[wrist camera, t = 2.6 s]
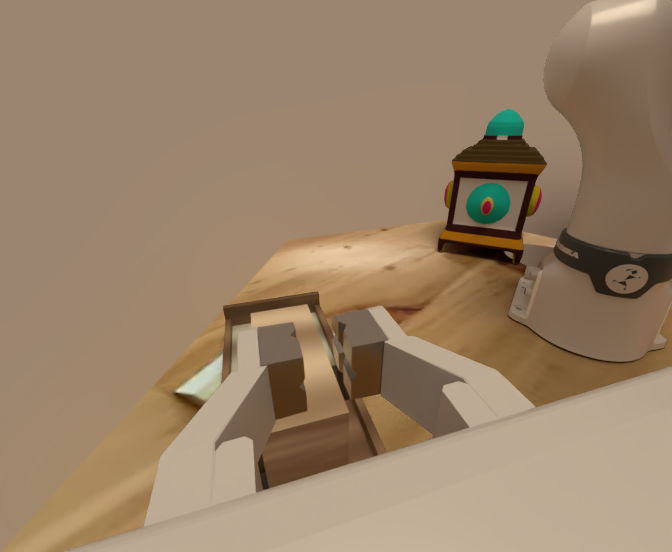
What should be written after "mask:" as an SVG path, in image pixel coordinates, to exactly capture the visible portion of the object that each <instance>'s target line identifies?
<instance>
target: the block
mask: <svg viewBox="0 0 672 552" xmlns="http://www.w3.org/2000/svg"><path fill="white" fill-rule="evenodd" d="M289 322H293V323H294V326H295V329H296V339H298V340H299V343H300V347H301V351H302V355H303V360H304V371H305V380H304V385H305V389H306V396H307V410H308V411H306V412H302V413H299V414H295V415H292V416H288V417H285V418H281V419H277V420H276V423H275V425H274V427H273V429H272V432H271V434H270V436H269V438H268V441H267V443H266V445H265V447H264V450H263V452H262V456H263V461H264V466H265V471H266V476H267V481H268V486H269V488H272V487H276V486H279V485H282V484H286V483H289V482H292V481H295V480H299V479H302V478H305V477H309V476H312V475H315V474H318V473H322V472H325V471H328V470H332V469H335V468H338V467H341V466H345V465H348V464H349V411H348V408H347V406H346V403H345V400H344V398H343V395H342V393H341V390H340V387H339V385H338V382H337V380H336V377H335V375H334V372H333V369H332V367H331V364H330V362H329V359H328V356H327V354H326V351H325V349H324V346H323V344H322V341H321V338H320V336H319V333H318V331H317V328H316V325H315V323H314V320H313V318H312V315H311V313H310V310H309V307H308V305H307V304H305V305H299V306H293V307H286V308H280V309H274V310H268V311H262V312H256V313H251V327H252V328H257V327H263V326H269V325H276V324H282V323H289ZM257 330H258V328H257Z"/></svg>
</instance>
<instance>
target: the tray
mask: <svg viewBox="0 0 672 552" xmlns="http://www.w3.org/2000/svg"><path fill="white" fill-rule="evenodd" d="M305 304H307V305H308V307H309V310H310V313H311V315H312V318H313V320H314V323H315V325H316V328H317V331H318V333H319V336H320V338H321V341H322V344H323V346H324V349H325V351H326V354H327V356H328V359H329V362H330V364H331V367H332V369H333V372H334V375H335V377H336V380H337V382H338V385H339V387H340V390H341V393H342V395H343V398H344V400H345V403H346V406H347V408H348V411H349V464H351V463H355V462H358V461H361V460H364V459H368V458H371V457H374V456H378V455H381V454H384V453H387V452H386V450H385V448H384V446H383V443H382V441H381V439H380V437H379V435H378V432H377V430H376V428H375V426H374V424H373V421H372V419H371V417H370V415H369V413H368V410H367V408H366V406H365V404H364V402H363V399H362V398H359V399H354V400H351V398H350V396H349V394H348V391H347V389H346V387H345V384H344V378H343V373H342V372H340V371H339V370H338V367H337V365H336V361H335V358H334V352H333V340H332V339H333V338H334V336H333V333H332V331H331V329H330V327H329V325H328V322H327V320H326V318H325V316H324V314H323V311H322V309H321V307H320V305H319V293H318V292H311V293H305V294H298V295H292V296H285V297H279V298H272V299H266V300H259V301H253V302H246V303H239V304H233V305H226V306H223V310H224V315H225V319H226V322H225V337H224V352H223V367H222V382H221V384H222V383H223V382H224V380H225V379H226V378H227V377H228V376H229V374H230V373H233V372H237V333H238V331H239V330H244V329H250V328H252V327H251V313H256V312H262V311H268V310H274V309H280V308H286V307H293V306H299V305H305ZM258 467H259V472H260V477H261V482H262V487H263V490H266V489H269V486H268V481H267V476H266V471H265V466H264V461H263V456H262V454H261V456H260V459H259V461H258Z"/></svg>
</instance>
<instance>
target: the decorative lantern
mask: <svg viewBox="0 0 672 552" xmlns="http://www.w3.org/2000/svg"><path fill="white" fill-rule="evenodd" d="M523 128H524V122H523V120H522V118H521V117H520V115H519V114H518V113H517V112H515V111H514V110H510V109H507V110H504V111H502V112H500V113H499V114H497V115H496V116H495V117H494V118H493V119H492V120H491V121H490V122H489V124H488V126H487V130H486V134H485V135H484V138H483V139H482V140H480V141H479V142H478V143H477V144H476V145H474V146H470V147H468V148H466V149H465V150H463V151H462V152H461V153H460V154H458V155H457V156H456V158H454V159H453V160H452V165H453V169H454V172H455V177H454V181H451V182H450V183H449V184H448V186H447V188H446V190H445V197H444V200H445V205H446V207H447V208H449V214H448V221H447V226H446V228H445V229H444V231H443V232H442V234H441V236H440V238H439V241H438V251H439V252H443V251H444V248H445V245H446V243H454V244H461V245H468V246H475V247H481V248H488V249H495V250H502V251H509V252H512V253H513V260H512V261H513V263H514V264H518V263H519V262H520V260H521V258H522V254H523V237H522V229H523V226H524V222H525V219H526V217H527V216H531V215H533V214H534V213H535V212H536V210H537V209H538V207H539V204H540V202H541V197H542V195H541V189H540V188H539V187H538V186H536V185H535V182H536V180H537V177H538V176H539V175H540V173H541V172H542V171H543V170H544V168H545V167H546V165H547V163H546V162H545V160H544V158H543V156H542V155H541V154H540V153H539V151H537V149H536V148H535V147H529V145H528V144H527V143H526V142H525V140H524V139H522V132H523Z"/></svg>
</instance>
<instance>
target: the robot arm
mask: <svg viewBox="0 0 672 552" xmlns="http://www.w3.org/2000/svg"><path fill="white" fill-rule="evenodd" d="M543 80H544V89H545V92H546V95H547V98H548V100H549V101H550V103H551V104H552V106H553V107H554V108H555V109H556V110H558V111H559V112H560V113H561V114H562V115H563V116H564V117H565V118H566V119H567V120H568V122H569V123H570V125H571V126H572V127H573V129H574V131H575V133H576V135H577V138H578V140H579V143H580V147H581V151H582V161H583V168H582V176H581V181H580V186H579V190H578V194H577V198H576V202H575V205H574V208H573V212H572V215H571V218H570V221H569V224H568V226H567V228H565V229H564V230H563V231H562V233H561V235H560V236H559V237H558V239H557V241H556V245H555V247H554V252H553V253H551V254H550V255H548V256H546V257H545V258H542V259H541V260H540V262H539V265H538V267H537V268H536V267H532V266H527V267H526V270H525V274H524V277H521V278H520V279H519V282H518V284H517V287H516V290H515V293H514V296H513V299H512V302H511V305H510V308H509V312H508V316H509V317H511V318H512V319H514V320H516V321H518V322H520V323H522V324H524V325H526V326H528V327H529V328H531V329H532V330H533V331H535V332H536V333H537V334H538V335H540V336H541V337H543V338H544V339H546V340H548V341H549V342H551V343H553V344H555V345H557V346H559V347H561V348H564V349H566V350H569V351H571V352H574V353H577V354H580V355H583V356H587V357H591V358H595V359H600V360H606V361H617V362H624V361H633V360H637V359H639V358H641V357H643V356H644V355H645V354H646V352H648V351H649V350H656V349H661V348H664V347H665V344H666V342H667V340H666V338H665V337H663V336H662V335H661V334H660V333H659V332H660V330H661V328H662V325H663V323H664V321H665V319H666V316H667V314H668V312H669V309H670V307H671V305H672V287H671V286H670V285H669V284H668V282H667V281H669V280H670V279H672V0H597V1H594V2H591V3H588V4H586V5H585V6H584V7H583V8H582V9H580V10H579V11H578V12H577V13H576V14H575V15H574V16H573V17H572V18H571V19H570V21H568V23H567V24H566V25H565V26H564V28H563V29H562V30H561V32H560V33H559V35H558V36H557V38H556V39H555V41H554V43H553V45H552V47H551V49H550V51H549V54H548V56H547V60H546V63H545V68H544V78H543ZM257 328H258V330H257ZM257 328H250V329H244V330H239V331H238V333H237V372H233V373H230V374H229V376H228V377H227V378H226V379H225V380H224V382H223V383H222V384H221V385H220V386H219V388H218V389H217V390H216V391H215V392H214V393H213V395H212V396H211V397H210V398H209V399H208V401H207V402H206V403H205V404H204V405H203V407H202V408H201V409H200V410H199V411H198V412H197V414H196V415H195V416H194V417H193V418H192V420H191V421H190V422H189V423H188V424H187V426H186V427H185V428H184V429H183V430H182V432H181V433H180V434H179V435H178V436H177V437H176V439H175V440H174V441H173V442H172V443H171V445H170V446H169V447H168V448H167V449H166V451H165V452H164V453H163V454H162V455H161V458H160V462H159V466H158V470H157V474H156V479H155V483H154V487H153V491H152V495H151V499H150V503H149V507H148V512H147V516H146V520H145V524H144V527H141V528H138V529H135V530H131V531H128V532H125V533H121V534H118V535H115V536H112V537H108V538H105V539H102V540H98V541H95V542H92V543H89V544H85V545H82V546H79V547H75V548H72V549H69V550H66V551H62V552H672V366H670V367H666V368H663V369H660V370H657V371H653V372H650V373H647V374H643V375H640V376H637V377H633V378H630V379H627V380H624V381H620V382H617V383H614V384H610V385H607V386H604V387H601V388H597V389H594V390H591V391H587V392H584V393H581V394H578V395H574V396H571V397H568V398H564V399H561V400H558V401H555V402H551V403H548V404H545V405H541V406H538V407H535V406H534V405H533V404H532V403H531V402H530V401H529V400H528V399H527V398H526V397H525V396H524V395H523V394H522V393H521V392H519V391H518V390H517V389H516V388H515V387H514V386H513V385H512V384H511V383H510V382H509V381H508V380H507V379H506V378H505V377H504V376H503V375H501V374H500V373H499V372H498V371H497V370H495V369H492V368H490V367H488V366H485V365H483V364H480V363H478V362H475V361H473V360H471V359H468V358H466V357H463V356H461V355H458V354H456V353H454V352H451V351H449V350H446V349H444V348H441V347H439V346H437V345H434V344H432V343H429V342H427V341H424V340H422V339H420V338H417V337H415V336H407V335H406V334H405V333H404V331H403V330H402V329H401V328H400V327H399V325H398V324H397V323H396V322H395V321H394V319H393V318H392V317H391V316H390V314H389V313H388V312H387V311H386V310H385V308H384V307H382V306H376V307H371V308H367V309H364V310H358V311H353V312H348V313H342V314H337V315H333V318H332V328H333V330H334V332H335V334H336V335H335V337H334V338H333V339H332V340H333V352H334V358H335V361H336V365H337V367H338V370H339V371H340V372H342V373H343V378H344V384H345V387H346V389H347V391H348V394H349V396H350V398H351V400H354V399H359V398H363V397H368V396H372V395H377V394H380V395H381V396H382V397H383V398H385V399H386V400H387V401H389V402H390V403H392V404H393V405H394V406H396V407H397V408H398V409H400V410H401V411H402V412H404V413H405V414H406V415H408V416H409V417H410V418H412V419H413V420H414V421H416V422H417V423H418V424H420V425H421V426H423V427H424V428H425V429H427V430H428V431H429V432H431V433H432V434H433V438H432V439H430V440H427V441H424V442H420V443H417V444H414V445H410V446H407V447H404V448H401V449H397V450H394V451H391V452H387V453H384V454H381V455H378V456H374V457H371V458H368V459H364V460H361V461H358V462H355V463H351V464H348V465H345V466H341V467H338V468H335V469H332V470H328V471H325V472H322V473H318V474H315V475H312V476H309V477H305V478H302V479H299V480H295V481H292V482H289V483H286V484H282V485H279V486H276V487H272V488H269V489H266V490H263V487H262V482H261V477H260V472H259V467H258V461H259V459H260V456H261V454H262V452H263V450H264V447H265V445H266V443H267V441H268V438H269V436H270V434H271V432H272V429H273V427H274V425H275V423H276V420H277V419H281V418H285V417H288V416H292V415H295V414H299V413H302V412H306V411H308V410H307V396H306V389H305V385H304V380H305V371H304V360H303V355H302V351H301V347H300V343H299V340H298V339H296V329H295V326H294V323H293V322H289V323H282V324H276V325H269V326H263V327H257Z"/></svg>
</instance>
